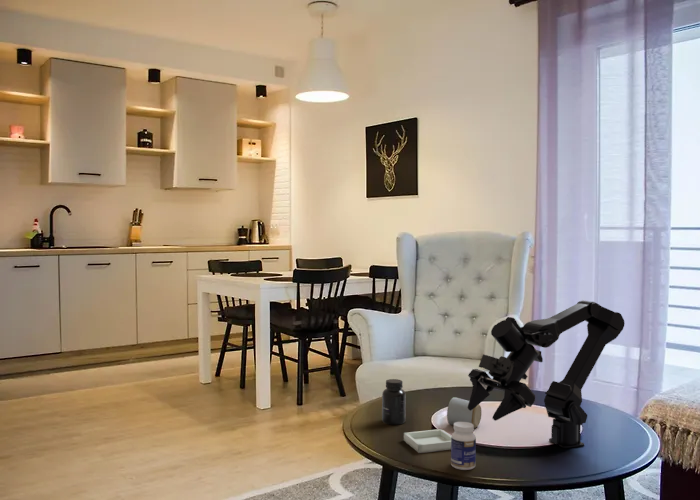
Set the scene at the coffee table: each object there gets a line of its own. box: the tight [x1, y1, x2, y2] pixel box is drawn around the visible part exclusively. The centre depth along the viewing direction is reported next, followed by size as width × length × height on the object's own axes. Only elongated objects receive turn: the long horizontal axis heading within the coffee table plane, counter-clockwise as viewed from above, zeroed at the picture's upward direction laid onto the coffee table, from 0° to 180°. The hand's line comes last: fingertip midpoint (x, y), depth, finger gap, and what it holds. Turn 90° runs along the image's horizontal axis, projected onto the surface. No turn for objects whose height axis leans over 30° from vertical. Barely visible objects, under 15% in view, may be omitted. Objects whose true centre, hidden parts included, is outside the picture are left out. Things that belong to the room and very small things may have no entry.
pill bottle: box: [450, 422, 477, 471], centre depth 147 cm, size 6×6×10 cm
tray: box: [403, 428, 452, 454], centre depth 162 cm, size 11×10×2 cm
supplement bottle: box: [381, 378, 407, 426], centre depth 182 cm, size 7×7×12 cm
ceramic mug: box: [446, 396, 482, 429], centre depth 179 cm, size 11×8×8 cm
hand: (480, 414), depth 149 cm, fingers open, 9 cm apart
